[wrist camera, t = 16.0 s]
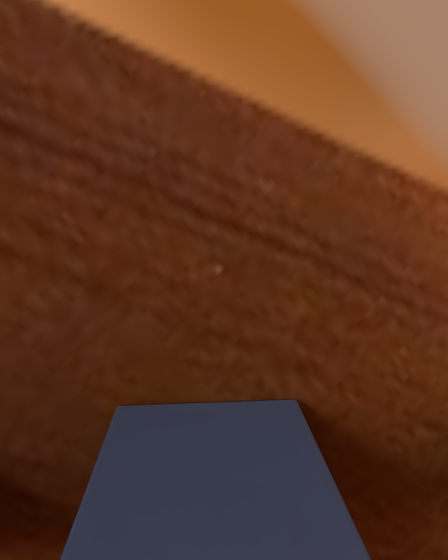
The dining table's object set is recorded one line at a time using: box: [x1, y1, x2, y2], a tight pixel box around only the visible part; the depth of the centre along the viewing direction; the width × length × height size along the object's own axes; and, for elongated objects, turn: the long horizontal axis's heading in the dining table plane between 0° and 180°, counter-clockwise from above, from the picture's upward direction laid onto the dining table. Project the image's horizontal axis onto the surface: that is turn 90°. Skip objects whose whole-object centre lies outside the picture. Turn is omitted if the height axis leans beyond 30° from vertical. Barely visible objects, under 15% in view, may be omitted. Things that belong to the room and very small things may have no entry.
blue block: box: [60, 400, 371, 560], centre depth 8 cm, size 4×4×4 cm
